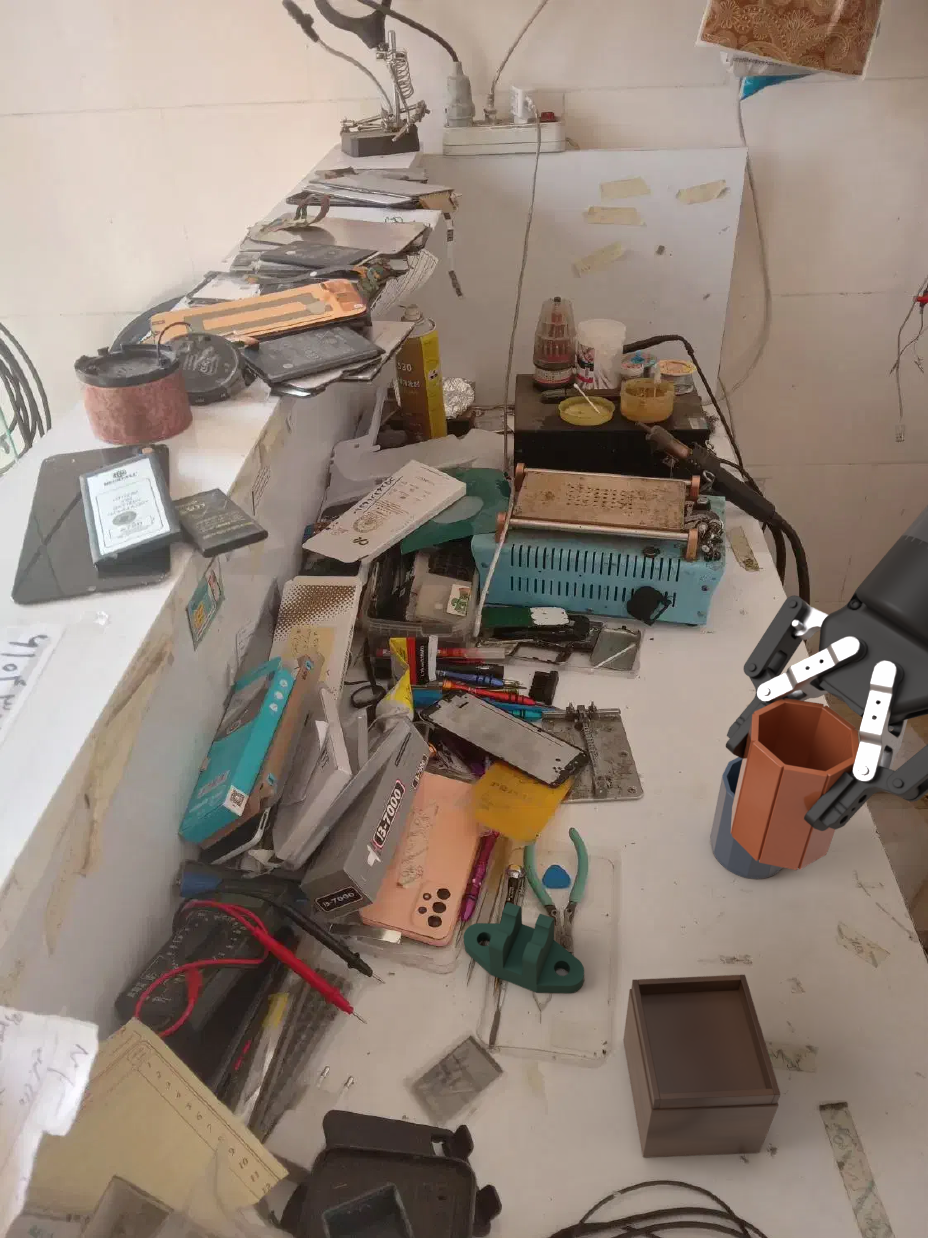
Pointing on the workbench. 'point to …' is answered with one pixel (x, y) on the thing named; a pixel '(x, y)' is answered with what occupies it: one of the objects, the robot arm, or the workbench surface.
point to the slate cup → (721, 836)
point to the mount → (524, 953)
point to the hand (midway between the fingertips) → (773, 787)
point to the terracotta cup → (789, 780)
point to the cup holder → (698, 1066)
